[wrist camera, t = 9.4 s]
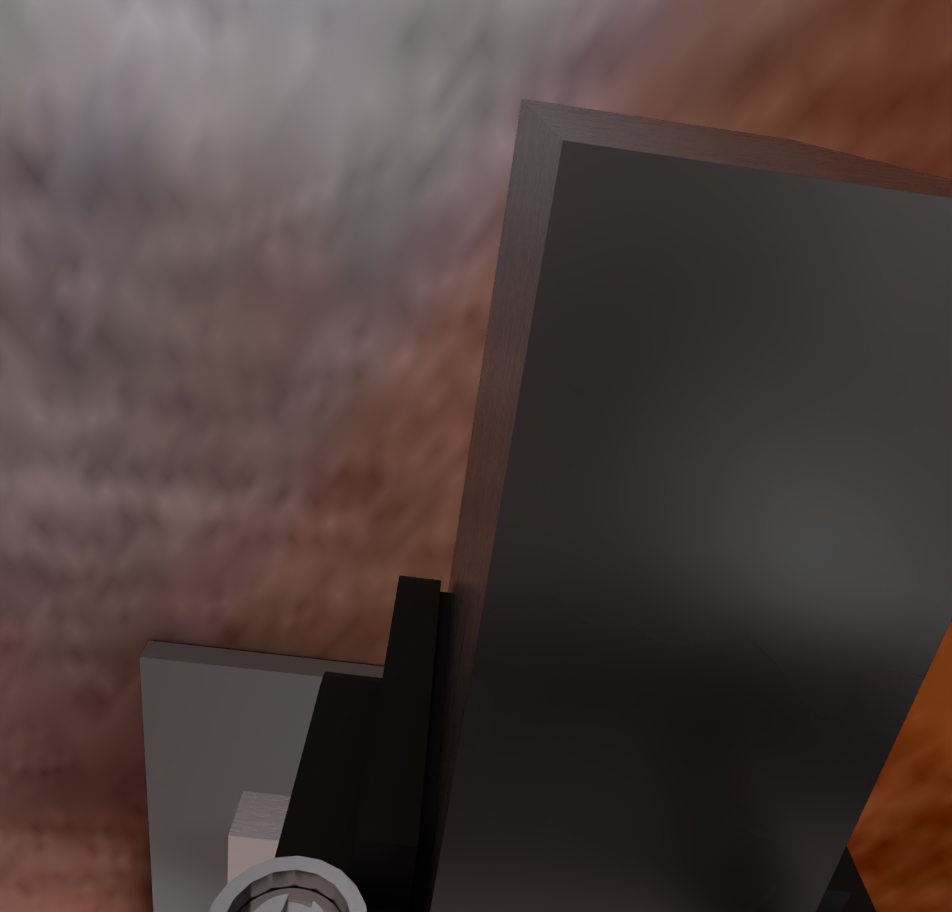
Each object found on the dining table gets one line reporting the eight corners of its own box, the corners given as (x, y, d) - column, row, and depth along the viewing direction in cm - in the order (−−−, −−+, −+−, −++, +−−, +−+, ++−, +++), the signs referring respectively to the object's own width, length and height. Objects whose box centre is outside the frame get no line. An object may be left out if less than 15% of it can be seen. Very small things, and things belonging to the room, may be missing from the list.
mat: (148, 640, 20) (139, 656, 19) (880, 721, 21) (890, 739, 20) (168, 1037, 27) (161, 1057, 26) (716, 1086, 28) (720, 1106, 27)
